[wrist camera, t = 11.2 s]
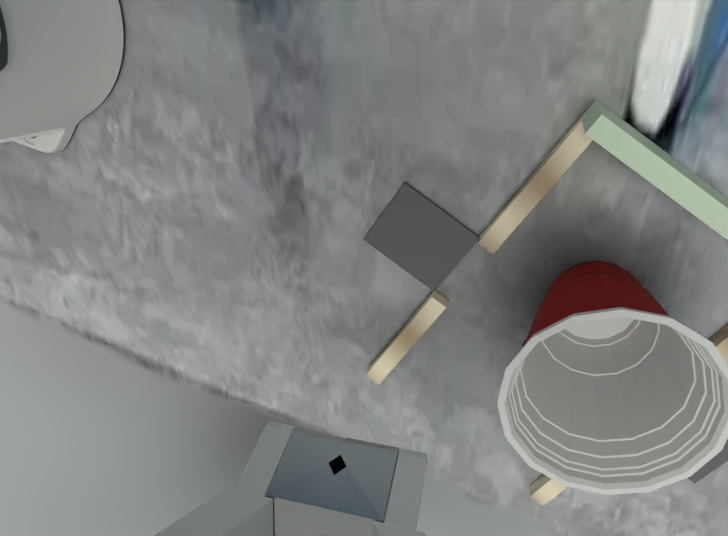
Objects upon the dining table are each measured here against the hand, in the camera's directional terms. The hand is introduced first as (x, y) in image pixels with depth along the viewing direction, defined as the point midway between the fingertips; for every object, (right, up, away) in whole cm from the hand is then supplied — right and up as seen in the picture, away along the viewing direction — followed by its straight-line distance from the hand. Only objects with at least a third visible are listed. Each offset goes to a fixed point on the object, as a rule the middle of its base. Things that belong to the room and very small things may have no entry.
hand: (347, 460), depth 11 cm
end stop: (+20, +8, +24) cm, 32 cm away
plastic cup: (+15, +1, +28) cm, 32 cm away
